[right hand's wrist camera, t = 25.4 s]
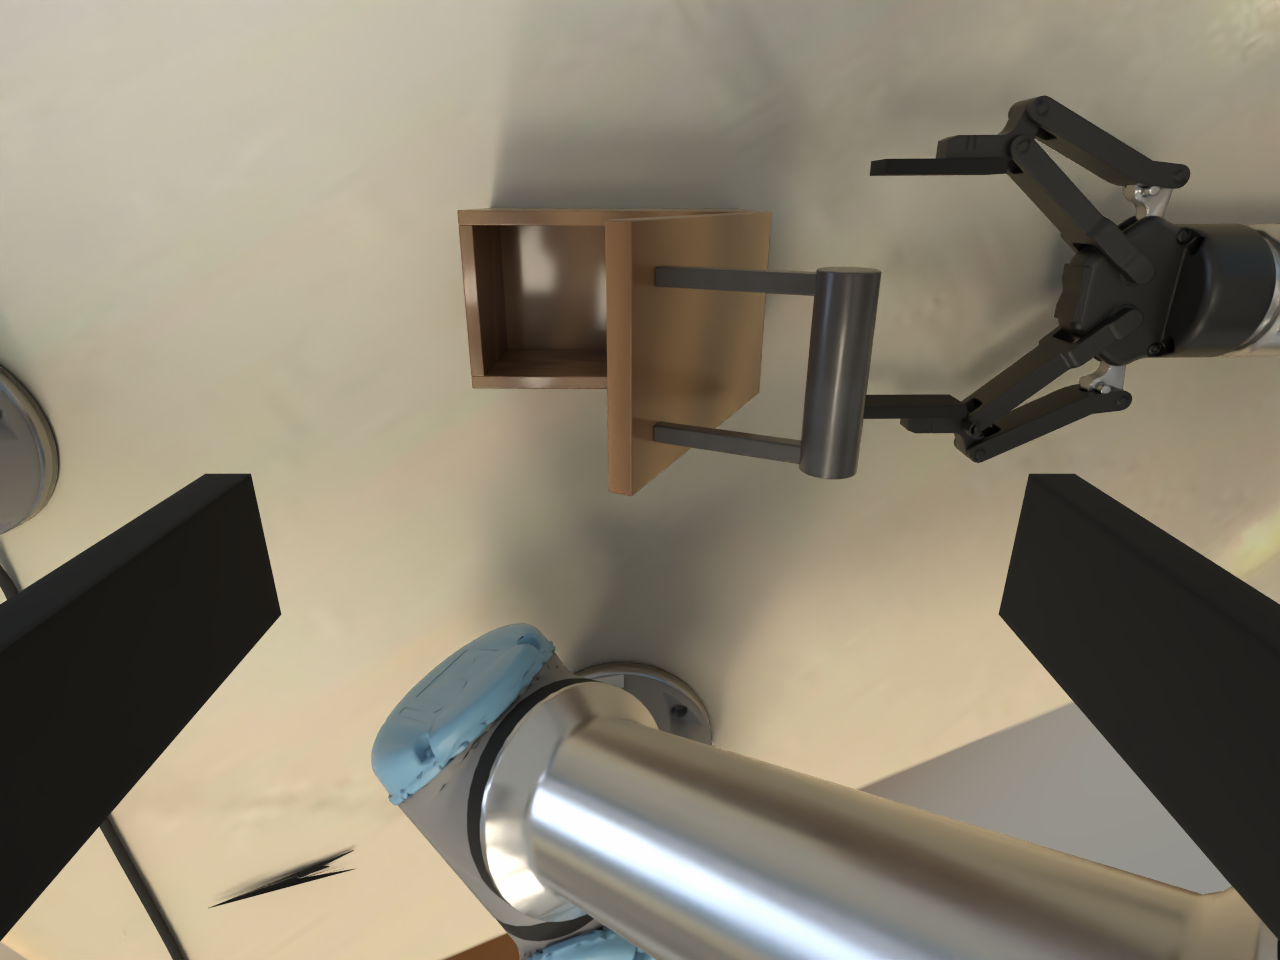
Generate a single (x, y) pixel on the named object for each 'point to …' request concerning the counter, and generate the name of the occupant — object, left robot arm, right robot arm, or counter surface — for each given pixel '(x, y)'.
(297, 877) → the feather
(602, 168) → the counter surface
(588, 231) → the chest
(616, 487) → the lid
